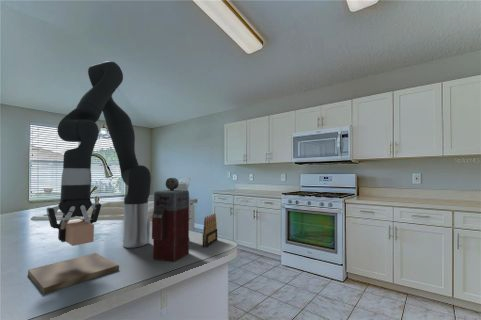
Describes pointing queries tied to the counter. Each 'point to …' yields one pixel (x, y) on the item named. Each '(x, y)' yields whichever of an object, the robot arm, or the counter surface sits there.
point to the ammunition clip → (209, 230)
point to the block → (79, 232)
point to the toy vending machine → (170, 223)
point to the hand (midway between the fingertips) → (74, 239)
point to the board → (71, 272)
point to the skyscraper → (184, 186)
